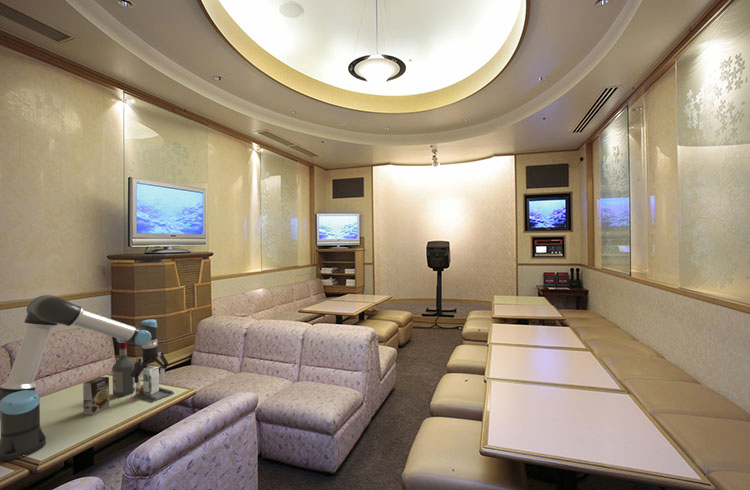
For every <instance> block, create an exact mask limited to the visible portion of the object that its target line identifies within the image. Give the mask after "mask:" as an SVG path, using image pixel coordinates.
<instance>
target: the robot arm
mask: <svg viewBox="0 0 750 490" xmlns="http://www.w3.org/2000/svg"><path fill="white" fill-rule="evenodd" d="M26 313H27V314H26V315H25V316H26V317H25V320H24V322H23V323H24V325H25V326H26V329H25V332H24V335H23V338H22V340H21V343H20V346H19V348H18V351H17V353H16V356H15V360H14V362H13V364H12V367H11V371H10V373H9V375H8V378H7V381H6V382H5V383H3V384H1V385H0V462H6V461H7V462H8V461H13V460H17V459H19V458H18V457H20V456H23V455H27V456H29V455H31V454H34V453H36V452H37V451H39V450H41V449H42V448H44V447H45V446H46V445H47V438H46V435H45V433H44V431H43V429H42V428H41V416H40V415H41V413H40V412H41V411H40V407H41V406H40V403H41V398H40V394H39V392H38V391H36V387H37V385H36V384H35V382H34V380H35V378H36V376H37V372H38V369H39V366H40V363H41V360H42V358H43V355H44V351H45V349H46V347H47V344H48V341H49V338H50V334H51V332H52V329H54V328H56V327H57V326H59V325H64V326H65V327H72V326H76V327H78V328H81V329H85V330H87V331H88V330H89V331H91V332H95V333H98V334H103V335H105V336H109V337H112V338H115V339H116V342H117V343H118V344H119V343H123V342H127V343H133V344H134V345H135V344H136V345H138V346H141V347H142V350H141V351H142V352H141V353H142V354H141V355H142V357H138V358H136V359H135V363H134V369H133V371H132V373H131V375H130V376H131V377H134V378H135V389H136V388H138V389H140V386H141V376H140V375H141V374H142V373H143V369H144V368H146V366H147V365H150V364H153V363H156V364H157V365H158V366H159V367H160V368H159V370H160V380H162V381H165V379H166V376H165V374H166V372H167V370H166V369H167V368H168V367H169V365H170V364H169V362H168V360H167V359H166V357H165V356H164V352H163V351H159V348H158V322H157V320H156V319H145V320H142V321H141V324H138V325H134V326H133V325H129V324H126V323H123V322H121V321H118V320H114V319H112V318H109V317H105V316H103V315H99V314H97V313H94V312H91V311H88V310H85V309H83V307H82V306H80V305H78V304H75V303H73V302H70V301H69V300H66V299H65V298H63V297H60V296H55V295H51V294H45V295H44V294H43V295H40V296H37V297H35V298H33V299H32V300H30V301H29V302H28V304H27V306H26ZM158 351H159V352H158ZM158 358H160V359H158ZM160 360H161V361H162V362H161V361H160ZM28 454H29V455H28Z"/></svg>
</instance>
